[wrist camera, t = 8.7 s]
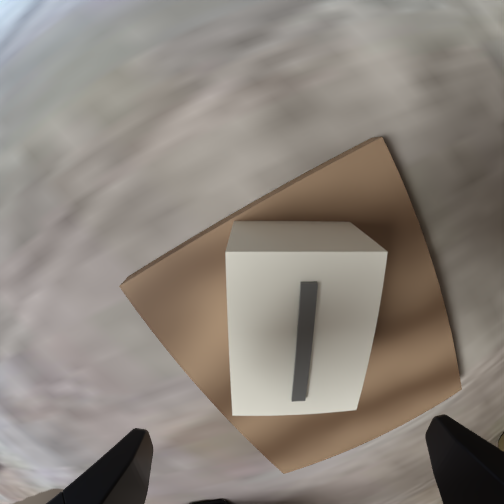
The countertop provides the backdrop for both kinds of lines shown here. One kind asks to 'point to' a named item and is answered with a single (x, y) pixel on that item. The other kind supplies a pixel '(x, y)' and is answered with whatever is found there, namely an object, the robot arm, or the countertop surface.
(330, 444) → the base board
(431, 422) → the robot arm
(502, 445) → the squeeze bottle
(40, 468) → the countertop surface
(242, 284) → the white slotted box
